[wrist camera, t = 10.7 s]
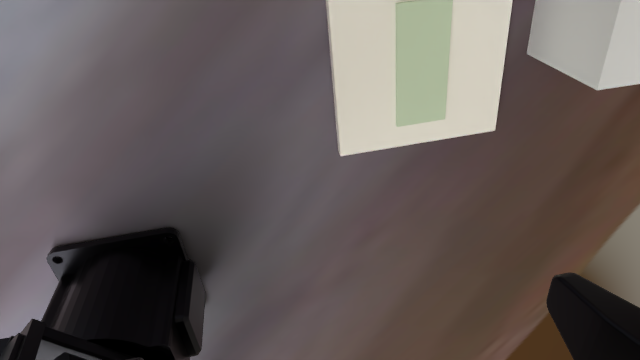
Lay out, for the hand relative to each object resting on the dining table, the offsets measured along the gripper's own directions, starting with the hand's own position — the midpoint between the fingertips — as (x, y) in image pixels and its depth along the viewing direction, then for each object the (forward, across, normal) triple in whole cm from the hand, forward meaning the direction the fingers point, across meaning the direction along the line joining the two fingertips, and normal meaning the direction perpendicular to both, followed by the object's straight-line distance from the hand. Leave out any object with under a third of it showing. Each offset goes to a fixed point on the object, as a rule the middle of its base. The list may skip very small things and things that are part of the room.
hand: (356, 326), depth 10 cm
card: (+13, -6, -1) cm, 14 cm away
